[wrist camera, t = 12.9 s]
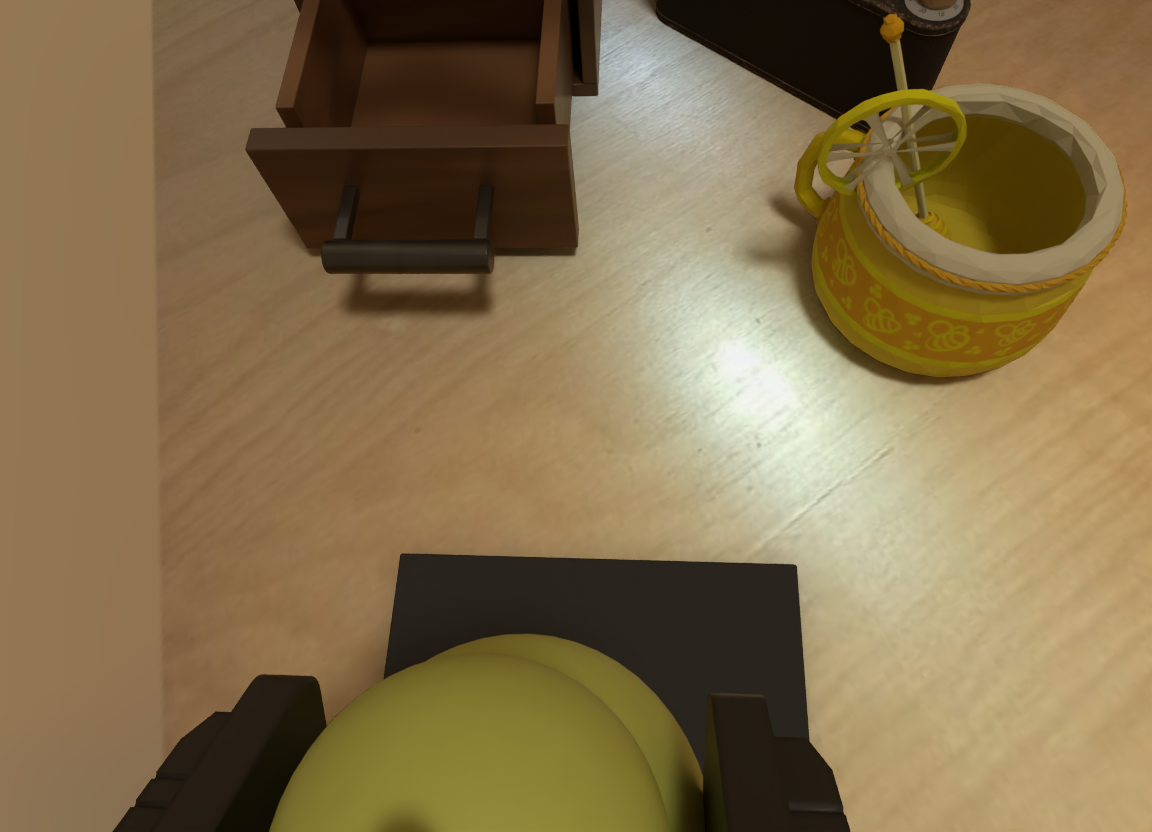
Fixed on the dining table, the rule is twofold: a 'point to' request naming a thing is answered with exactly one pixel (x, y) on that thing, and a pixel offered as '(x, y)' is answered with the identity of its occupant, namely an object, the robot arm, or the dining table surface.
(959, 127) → the mug
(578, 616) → the mat
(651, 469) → the dining table surface
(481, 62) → the drawer
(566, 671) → the pear
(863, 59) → the camera
